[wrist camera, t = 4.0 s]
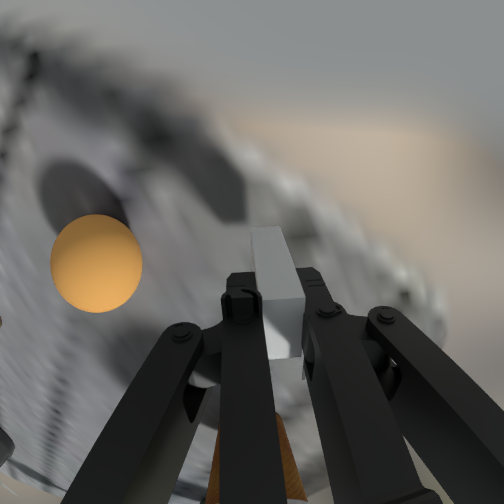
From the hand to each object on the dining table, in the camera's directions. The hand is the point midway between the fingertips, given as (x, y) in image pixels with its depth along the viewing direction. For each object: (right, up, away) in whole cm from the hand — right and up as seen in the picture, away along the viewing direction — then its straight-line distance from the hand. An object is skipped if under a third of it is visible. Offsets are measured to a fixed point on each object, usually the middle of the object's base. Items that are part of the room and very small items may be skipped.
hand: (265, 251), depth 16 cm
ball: (-9, -1, -1) cm, 10 cm away
